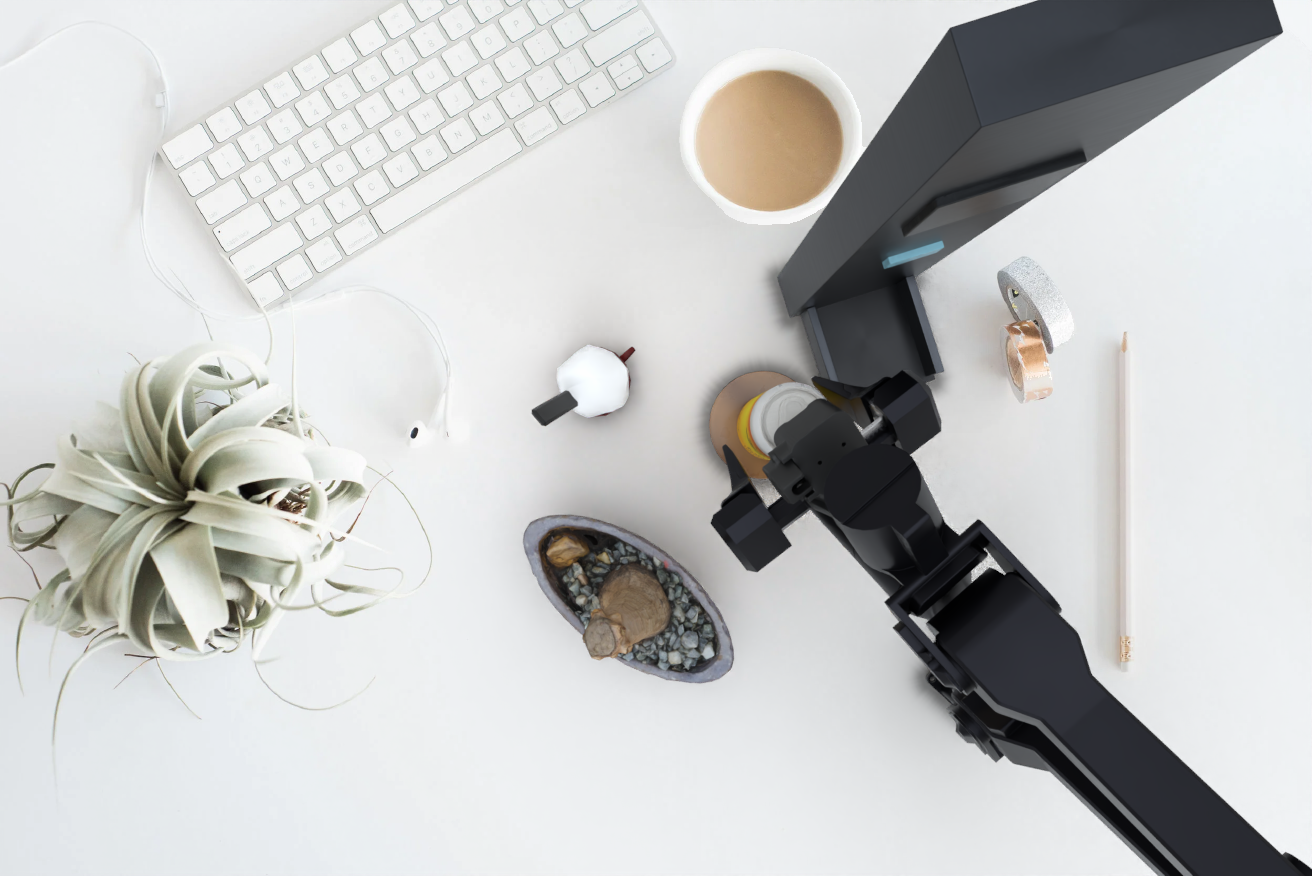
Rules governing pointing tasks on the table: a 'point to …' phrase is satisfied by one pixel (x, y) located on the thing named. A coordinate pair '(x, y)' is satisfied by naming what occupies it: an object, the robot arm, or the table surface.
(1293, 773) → the table surface
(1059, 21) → the dispenser
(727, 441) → the cork coaster
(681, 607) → the planter
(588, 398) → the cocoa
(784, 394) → the beer can
